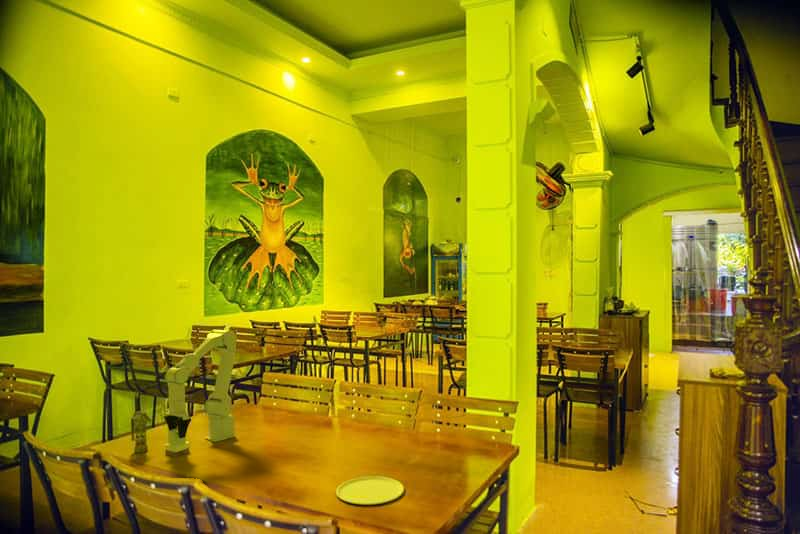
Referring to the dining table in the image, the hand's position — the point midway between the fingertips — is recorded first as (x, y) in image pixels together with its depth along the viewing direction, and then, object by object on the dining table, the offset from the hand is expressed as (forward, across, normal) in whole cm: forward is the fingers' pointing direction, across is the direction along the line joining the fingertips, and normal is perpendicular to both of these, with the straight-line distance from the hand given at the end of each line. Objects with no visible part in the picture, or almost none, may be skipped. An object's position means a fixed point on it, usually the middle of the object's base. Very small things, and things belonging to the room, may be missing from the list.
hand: (177, 435), depth 206 cm
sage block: (+3, 0, 0) cm, 3 cm away
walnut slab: (+7, 0, 0) cm, 7 cm away
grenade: (+7, -14, -8) cm, 17 cm away
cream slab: (+5, 0, 0) cm, 5 cm away
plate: (+7, +82, +21) cm, 85 cm away
